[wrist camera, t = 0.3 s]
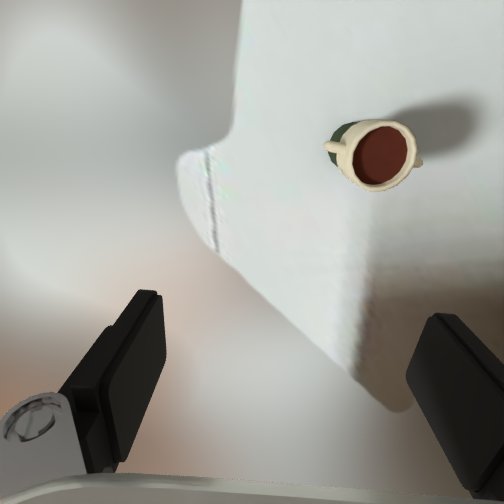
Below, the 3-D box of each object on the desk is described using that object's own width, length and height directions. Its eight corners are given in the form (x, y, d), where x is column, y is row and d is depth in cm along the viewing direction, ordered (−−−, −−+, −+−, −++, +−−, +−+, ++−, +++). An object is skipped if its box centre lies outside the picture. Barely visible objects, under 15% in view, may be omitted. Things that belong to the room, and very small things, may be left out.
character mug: (305, 164, 43) (321, 182, 31) (318, 112, 40) (341, 110, 28) (377, 177, 44) (419, 200, 32) (395, 126, 41) (448, 130, 29)
